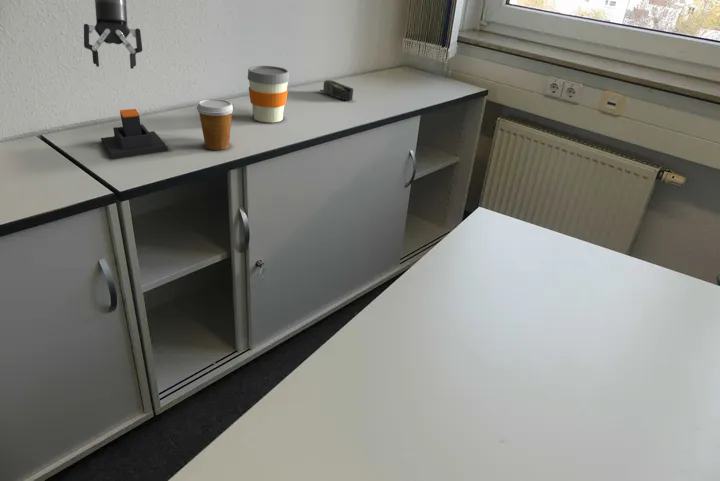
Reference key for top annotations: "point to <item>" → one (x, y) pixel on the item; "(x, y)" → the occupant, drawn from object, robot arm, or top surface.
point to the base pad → (133, 143)
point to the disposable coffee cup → (215, 122)
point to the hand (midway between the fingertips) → (114, 67)
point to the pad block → (130, 122)
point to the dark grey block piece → (338, 90)
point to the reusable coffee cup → (268, 92)
